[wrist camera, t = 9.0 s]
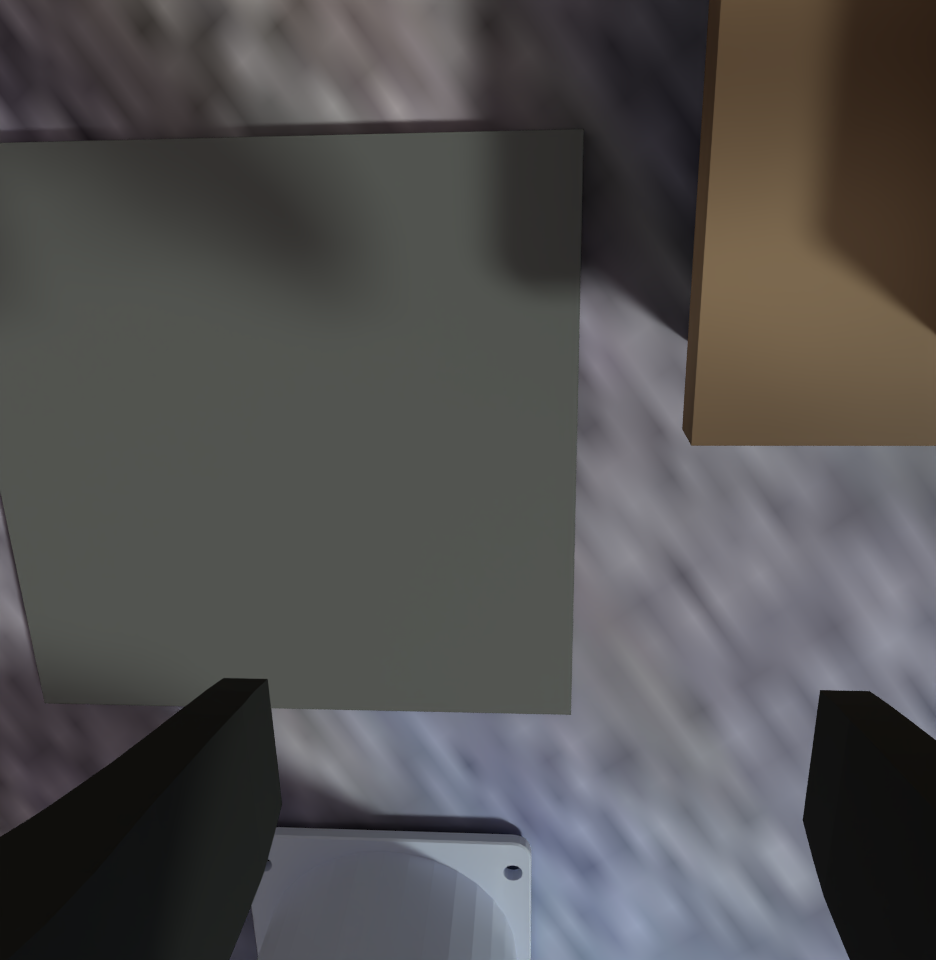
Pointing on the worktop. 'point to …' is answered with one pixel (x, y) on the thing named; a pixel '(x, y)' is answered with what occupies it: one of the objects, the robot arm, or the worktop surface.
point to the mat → (295, 416)
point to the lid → (815, 227)
